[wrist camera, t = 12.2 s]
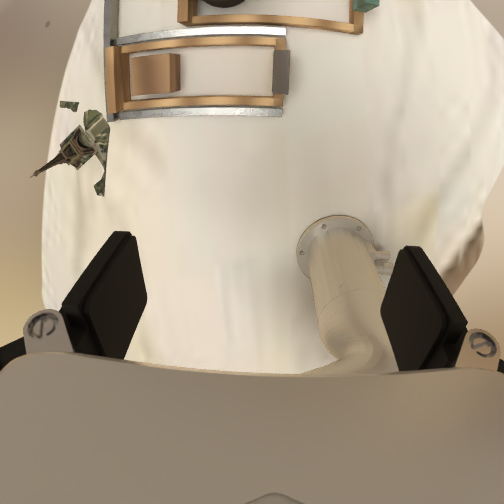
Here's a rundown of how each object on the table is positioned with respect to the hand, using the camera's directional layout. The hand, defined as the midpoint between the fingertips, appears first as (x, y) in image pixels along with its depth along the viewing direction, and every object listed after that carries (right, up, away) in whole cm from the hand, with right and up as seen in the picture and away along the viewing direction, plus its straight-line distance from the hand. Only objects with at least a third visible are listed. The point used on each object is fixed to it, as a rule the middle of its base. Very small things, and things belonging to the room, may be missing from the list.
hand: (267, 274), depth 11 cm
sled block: (-7, +24, +25) cm, 36 cm away
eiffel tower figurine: (-27, +17, +32) cm, 45 cm away
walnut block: (-12, +25, +26) cm, 38 cm away
